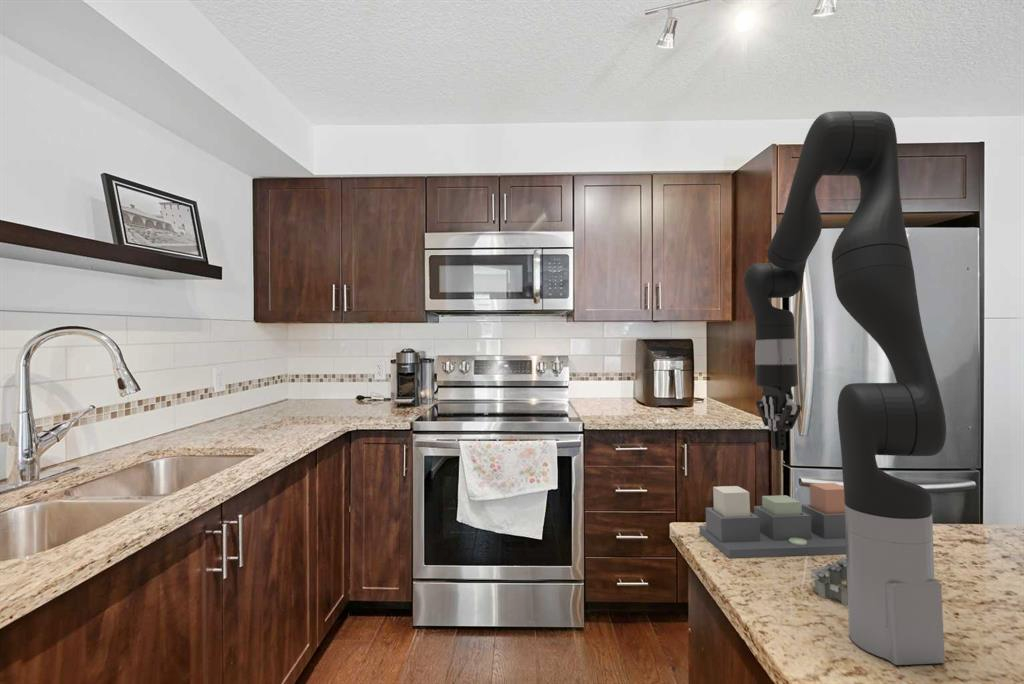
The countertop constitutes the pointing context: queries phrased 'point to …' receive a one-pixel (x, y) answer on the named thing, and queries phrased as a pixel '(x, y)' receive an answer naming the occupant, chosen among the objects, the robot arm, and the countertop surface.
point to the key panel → (776, 533)
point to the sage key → (781, 505)
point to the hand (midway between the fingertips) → (778, 449)
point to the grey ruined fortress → (832, 580)
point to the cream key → (731, 501)
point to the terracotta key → (827, 498)
